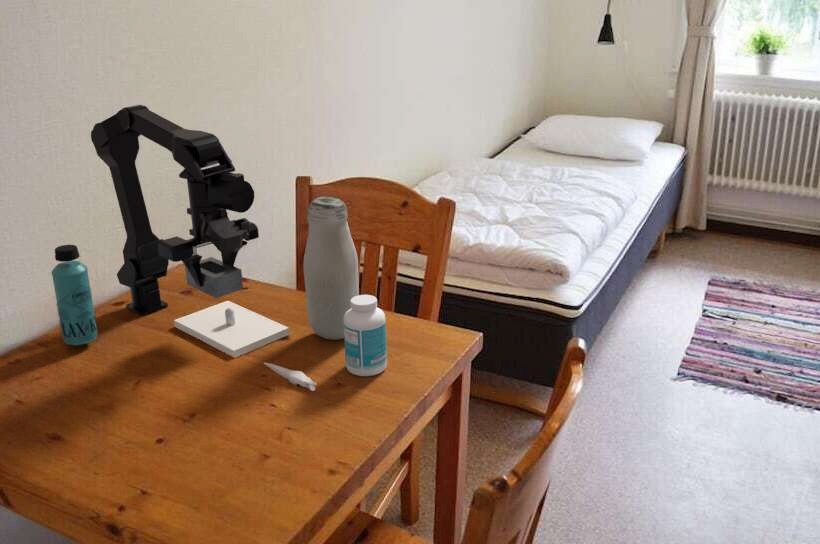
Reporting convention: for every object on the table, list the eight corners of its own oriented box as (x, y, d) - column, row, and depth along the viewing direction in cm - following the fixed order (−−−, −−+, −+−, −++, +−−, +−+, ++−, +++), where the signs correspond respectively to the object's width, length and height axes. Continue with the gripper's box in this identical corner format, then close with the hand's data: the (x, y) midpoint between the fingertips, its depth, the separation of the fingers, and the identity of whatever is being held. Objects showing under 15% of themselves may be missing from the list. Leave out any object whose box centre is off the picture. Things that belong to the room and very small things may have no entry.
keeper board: (175, 326, 163) (172, 304, 161) (228, 306, 171) (226, 285, 170) (234, 357, 150) (232, 334, 148) (289, 334, 159) (287, 311, 157)
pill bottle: (389, 359, 149) (388, 291, 144) (384, 379, 142) (382, 309, 137) (349, 357, 150) (346, 290, 145) (342, 377, 143) (339, 307, 138)
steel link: (187, 284, 157) (184, 265, 155) (213, 275, 161) (211, 257, 159) (216, 298, 150) (214, 278, 149) (243, 288, 154) (241, 269, 153)
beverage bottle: (56, 349, 154) (37, 250, 146) (81, 334, 160) (64, 239, 152) (83, 355, 152) (65, 255, 144) (107, 340, 157) (92, 243, 150)
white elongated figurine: (322, 388, 139) (321, 379, 139) (310, 395, 138) (309, 385, 137) (269, 364, 149) (268, 355, 149) (258, 369, 147) (256, 360, 147)
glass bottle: (364, 326, 162) (360, 191, 152) (352, 349, 153) (347, 207, 142) (317, 323, 164) (309, 189, 153) (302, 345, 154) (293, 205, 144)
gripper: (184, 224, 138) (194, 307, 144) (273, 200, 151) (279, 278, 156) (151, 211, 145) (162, 291, 151) (238, 190, 158) (245, 264, 164)
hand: (214, 281), depth 155 cm, fingers closed on steel link, 6 cm apart
